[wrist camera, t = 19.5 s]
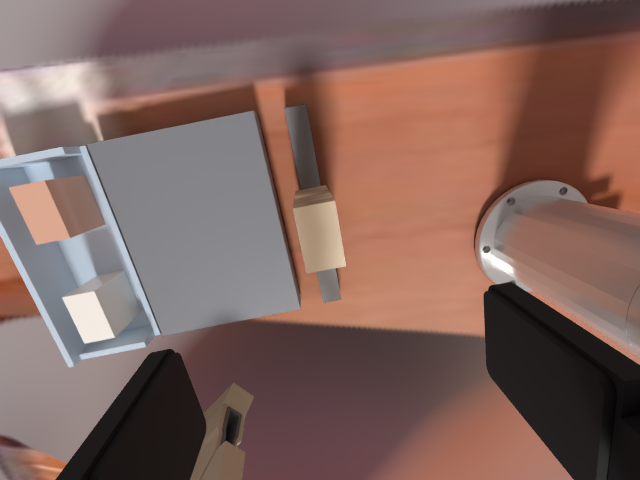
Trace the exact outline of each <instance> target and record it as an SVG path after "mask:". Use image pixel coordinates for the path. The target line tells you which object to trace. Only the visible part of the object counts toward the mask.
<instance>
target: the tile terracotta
mask: <svg viewBox="0 0 640 480" xmlns="http://www.w3.org/2000/svg"><path fill="white" fill-rule="evenodd" d="M9 190H10V192H11V194H12V196H13V198H14V200H15V202H16V204H17V206H18V208H19V210H20V212H21V214H22V216H23V218H24V220H25V223H26V225H27V227H28V229H29V231H30V233H31V235H32V237H33V239H34V241H35V243H36V245H38V244H43V243H49V242H54V241H59V240H64V239H69V238H72V237H75V236H77V235H80V234H82V233H85V232H87V231H90V230H92V229H95V228H97V227H100V226H102V225H105V221H104V219H103V216H102V214H101V212H100V209H99V207H98V204H97V202H96V199H95V197H94V194H93V192H92V189H91V187H90V185H89V182H88V180H87V177H86V175H82V176H74V177H66V178H59V179H51V180H44V181H39V182H34V183H29V184H24V185H19V186H14V187H9Z"/></svg>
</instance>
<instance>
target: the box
mask: <svg viewBox="0 0 640 480" xmlns="http://www.w3.org/2000/svg"><path fill="white" fill-rule="evenodd" d="M82 175H86V177H87V180H88V182H89V185H90V187H91V189H92V192H93V194H94V197H95V199H96V202H97V204H98V207H99V209H100V212H101V214H102V216H103V219H104V221H105V225H102V226H100V227H97V228H95V229H92V230H90V231H87V232H85V233H82V234H80V235H77V236H75V237H72V238H69V239H64V240H59V241H54V242H49V243H43V244H38V245H36V243H35V241H34V239H33V237H32V235H31V233H30V231H29V229H28V227H27V225H26V223H25V220H24V218H23V216H22V214H21V212H20V210H19V208H18V206H17V204H16V202H15V200H14V198H13V196H12V194H11V192H10V190H9V187H14V186H19V185H24V184H29V183H34V182H39V181H44V180H51V179H59V178H66V177H74V176H82ZM0 236H1V238H2V240H3V242H4V244H5V246H6V247H7V249H8V251H9V253H10V255H11V257H12V259H13V261H14V263H15V265H16V267H17V269H18V271H19V273H20V274H21V276H22V278H23V280H24V282H25V284H26V286H27V288H28V290H29V292H30V294H31V296H32V298H33V299H34V301H35V303H36V305H37V307H38V309H39V311H40V313H41V315H42V317H43V319H44V321H45V323H46V324H47V326H48V328H49V330H50V332H51V334H52V336H53V338H54V340H55V342H56V344H57V346H58V348H59V350H60V351H61V353H62V355H63V357H64V359H65V361H66V363H67V365H68V367H73V366H75V365H76V364H77V363H78V362H79V361H80V360H82V359H87V358H92V357H97V356H102V355H107V354H112V353H117V352H123V351H127V350H133V349H138V348H143V347H146V346H147V345H148V344H149V343H150V341H151V340H152V339H153V337H154V336H155V335H160V334H161V333H162V332H161V330H160V327H159V325H158V322H157V320H156V317H155V315H154V312H153V310H152V307H151V305H150V302H149V300H148V297H147V295H146V292H145V290H144V287H143V284H142V282H141V279H140V277H139V274H138V272H137V269H136V267H135V264H134V262H133V259H132V257H131V254H130V252H129V249H128V247H127V244H126V242H125V239H124V237H123V234H122V232H121V229H120V226H119V224H118V221H117V219H116V216H115V214H114V211H113V209H112V206H111V204H110V201H109V199H108V196H107V194H106V191H105V189H104V186H103V184H102V181H101V179H100V176H99V174H98V171H97V168H96V166H95V163H94V161H93V158H92V156H91V153H90V151H89V148H88V146H87V145H85V146H80V147H58V148H53V149H48V150H43V151H39V152H34V153H29V154H24V155H19V156H14V157H9V158H4V159H0ZM123 270H125V273H126V275H127V278H128V280H129V283H130V285H131V288H132V290H133V292H134V295H135V297H136V300H137V302H138V305H139V307H140V310H141V312H140V313H139V314H138V315H137V316H136V317H135V318H134V319H133V320H132V321H131V322H130V323H129V324H128V325H127V326H126V327H125V328H124V329H123V330H122V331H121V332H120V333H119V334H118V335H117V336H116V337H115V338H111V339H106V340H101V341H96V342H91V343H86V344H84V342H83V340H82V338H81V336H80V334H79V332H78V330H77V327H76V325H75V323H74V321H73V319H72V317H71V315H70V313H69V311H68V309H67V307H66V305H65V303H64V301H63V299H62V297H64V296H65V295H67V294H68V293H70V292H72V291H73V290H75V289H76V288H78V287H80V286H81V285H83V284H84V283H86V282H88V281H89V280H91V279H92V278H94V277H96V276H98V275H103V274H108V273H113V272H118V271H123Z"/></svg>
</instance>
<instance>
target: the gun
mask: <svg viewBox="0 0 640 480" xmlns="http://www.w3.org/2000/svg"><path fill="white" fill-rule="evenodd" d="M253 398H254V396H252V395H251V394H249V393H248V392H247V391H245V390H244V389H242V388H241V387H240V386H238V385H237V384H235V383H234V382H233V383H232V384H231V385H230V386H229V387H228V388H227V389H226V390H225V391H224V392H223V393H222V394H221V395H220V397H218V399H216V400H215V402H214V403H213V404H212V405H211V406H210V407H209V408H208V409H207V410H206V411H205V412H204V413H203V414H204V417H205V420H206V425H207V429H206V434H205V438H204V440H203V443H202V446H201V449H200V452H199V455H198V458H197V461H196V464H195V467H194V470H193V473H192V476H191V479H190V480H242V474H243V466H244V459H245V452H243V451H241V450H240V449H238V448H237V445H238V444H239V443H240V442H241V440H242V434H243V428H244V421H245V418H244V417H245V415H246V413H247V411H248V409H249V407H250V404H251V402H252V400H253Z"/></svg>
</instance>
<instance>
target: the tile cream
mask: <svg viewBox="0 0 640 480" xmlns="http://www.w3.org/2000/svg"><path fill="white" fill-rule="evenodd" d="M62 299H63V301H64V303H65V305H66V307H67V309H68V311H69V313H70V315H71V317H72V319H73V321H74V323H75V325H76V327H77V330H78V332H79V334H80V336H81V338H82V340H83V342H84V344H86V343H91V342H96V341H101V340H106V339H111V338H115V337H116V336H117V335H118V334H119V333H120V332H121V331H122V330H123V329H124V328H125V327H126V326H127V325H128V324H129V323H130V322H131V321H132V320H133V319H134V318H135V317H136V316H137V315H138V314H139V313H140V312H141V310H140V307H139V305H138V302H137V300H136V297H135V295H134V292H133V290H132V288H131V285H130V283H129V280H128V278H127V275H126V273H125V270H123V271H118V272H113V273H108V274H103V275H98V276H96V277H94V278H92V279H91V280H89V281H88V282H86V283H84V284H83V285H81V286H80V287H78V288H76V289H75V290H73V291H72V292H70V293H68V294H67V295H65V296H64V297H62Z"/></svg>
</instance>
